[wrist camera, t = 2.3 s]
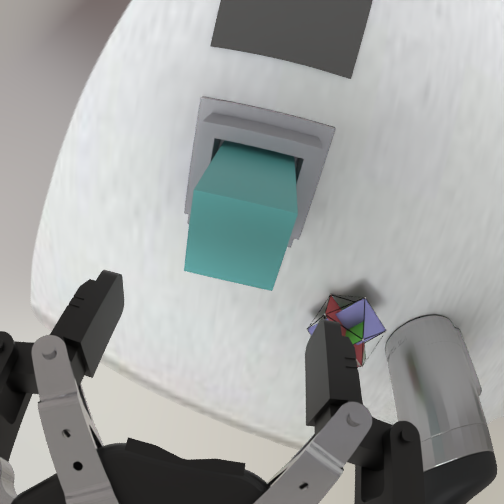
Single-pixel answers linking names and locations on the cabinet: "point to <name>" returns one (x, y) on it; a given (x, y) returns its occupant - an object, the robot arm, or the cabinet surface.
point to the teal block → (242, 215)
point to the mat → (295, 30)
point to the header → (261, 145)
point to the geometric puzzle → (354, 324)
